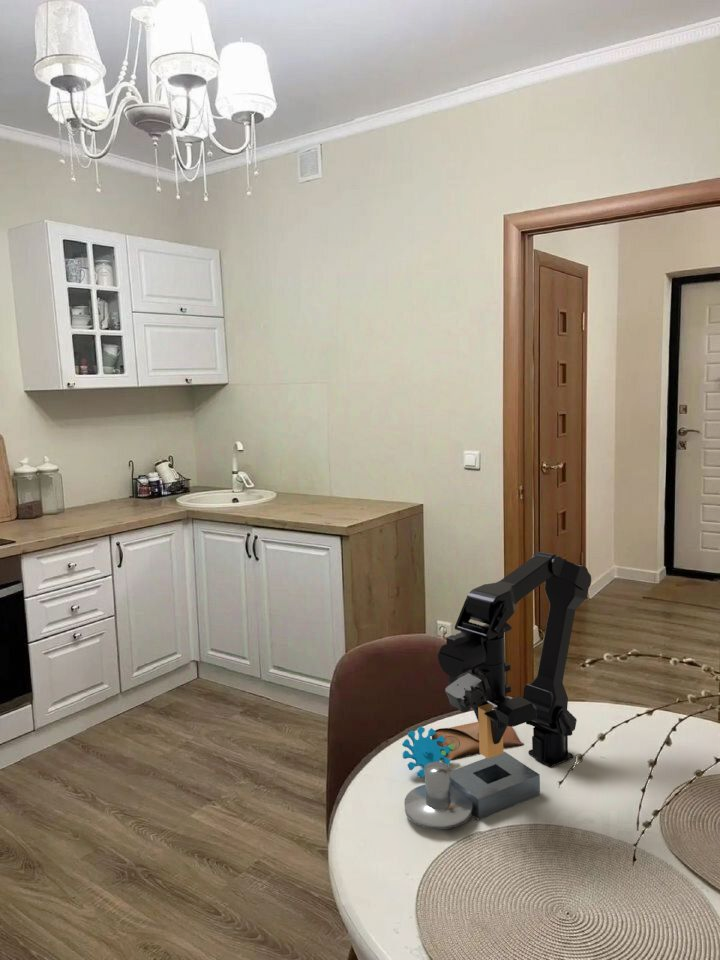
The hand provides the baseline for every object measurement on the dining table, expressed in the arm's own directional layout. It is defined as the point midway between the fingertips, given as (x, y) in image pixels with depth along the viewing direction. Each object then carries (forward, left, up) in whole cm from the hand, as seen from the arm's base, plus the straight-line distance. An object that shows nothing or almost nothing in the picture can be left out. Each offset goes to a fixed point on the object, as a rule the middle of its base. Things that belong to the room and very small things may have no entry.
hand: (491, 740), depth 136 cm
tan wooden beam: (0, 0, -3) cm, 3 cm away
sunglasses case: (-9, -16, -11) cm, 22 cm away
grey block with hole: (+6, 0, -11) cm, 12 cm away
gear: (+5, -14, -11) cm, 18 cm away
